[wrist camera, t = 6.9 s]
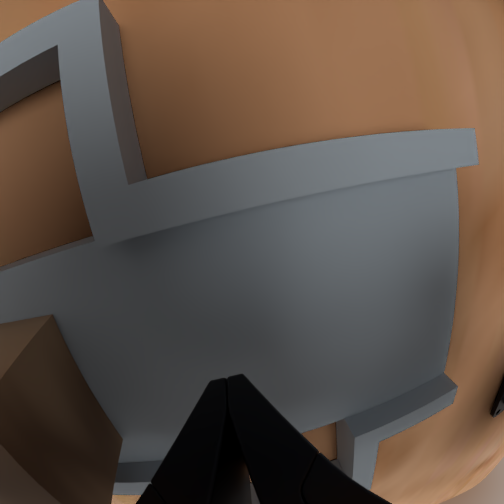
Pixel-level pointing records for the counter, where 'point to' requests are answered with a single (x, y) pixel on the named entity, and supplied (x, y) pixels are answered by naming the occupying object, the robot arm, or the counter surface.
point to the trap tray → (241, 265)
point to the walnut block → (50, 422)
